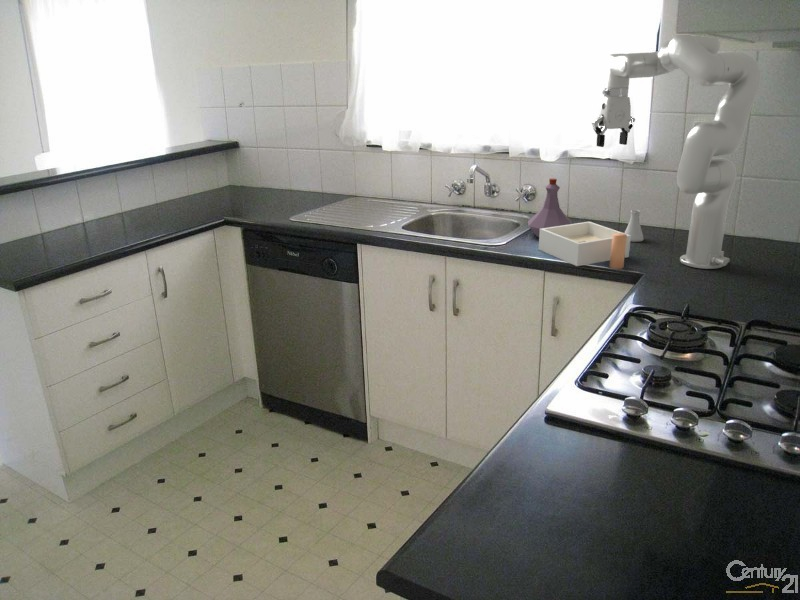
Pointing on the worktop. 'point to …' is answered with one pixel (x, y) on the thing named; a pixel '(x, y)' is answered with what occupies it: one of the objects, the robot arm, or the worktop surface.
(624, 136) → the robot arm
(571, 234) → the box
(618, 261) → the peg
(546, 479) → the worktop surface
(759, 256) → the worktop surface
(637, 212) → the flask
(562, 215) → the flask
